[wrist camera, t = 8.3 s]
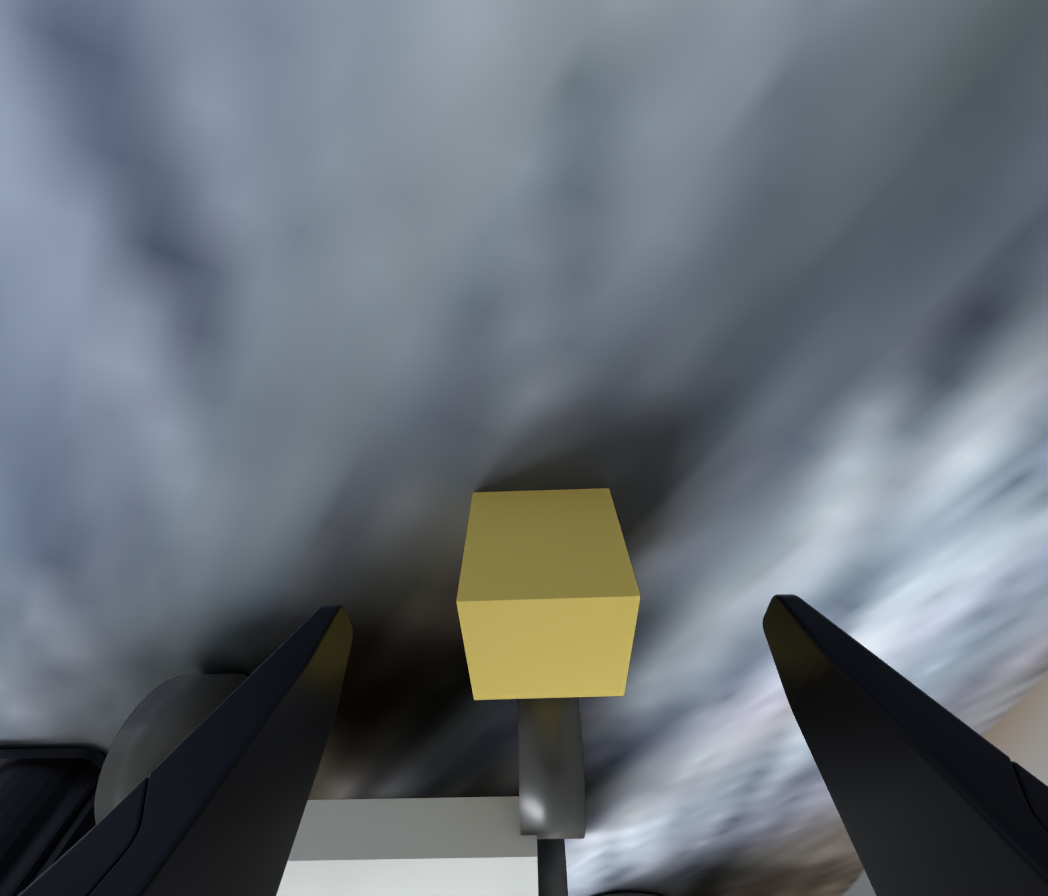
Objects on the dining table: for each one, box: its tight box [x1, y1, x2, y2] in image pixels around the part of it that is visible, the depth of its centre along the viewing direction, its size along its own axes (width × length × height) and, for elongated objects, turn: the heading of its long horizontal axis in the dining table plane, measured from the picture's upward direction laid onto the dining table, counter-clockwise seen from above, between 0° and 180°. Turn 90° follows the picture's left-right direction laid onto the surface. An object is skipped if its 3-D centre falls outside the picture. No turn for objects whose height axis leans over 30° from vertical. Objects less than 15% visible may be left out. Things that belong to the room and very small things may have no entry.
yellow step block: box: [456, 488, 641, 700], centre depth 13 cm, size 4×6×4 cm, turn 2°
